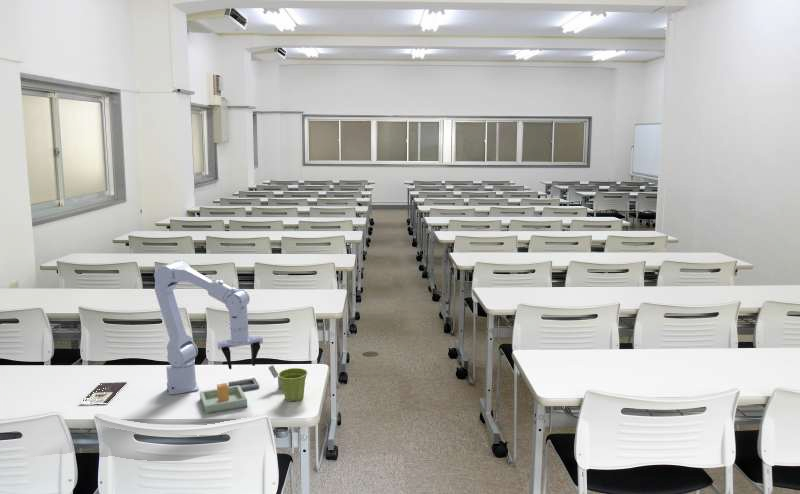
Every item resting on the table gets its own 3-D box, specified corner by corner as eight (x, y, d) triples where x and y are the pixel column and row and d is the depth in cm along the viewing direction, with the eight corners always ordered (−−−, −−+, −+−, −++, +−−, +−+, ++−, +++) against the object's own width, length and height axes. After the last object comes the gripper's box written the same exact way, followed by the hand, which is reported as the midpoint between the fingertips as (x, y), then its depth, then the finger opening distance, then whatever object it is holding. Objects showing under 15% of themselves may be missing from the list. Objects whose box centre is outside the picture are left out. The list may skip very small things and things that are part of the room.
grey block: (291, 386, 237) (289, 364, 236) (290, 388, 236) (289, 365, 234) (270, 386, 237) (269, 364, 235) (269, 388, 235) (268, 366, 234)
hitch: (231, 392, 232) (231, 389, 232) (228, 385, 239) (228, 382, 238) (259, 388, 236) (258, 384, 236) (255, 381, 242) (254, 377, 242)
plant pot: (295, 406, 221) (294, 380, 219) (273, 400, 226) (272, 375, 224) (314, 395, 229) (313, 371, 227) (292, 390, 233) (291, 366, 232)
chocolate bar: (126, 382, 242) (106, 402, 224) (126, 384, 242) (107, 405, 224) (100, 383, 242) (78, 403, 224) (100, 385, 242) (79, 406, 224)
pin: (219, 403, 222) (218, 387, 221) (218, 400, 225) (216, 384, 224) (228, 402, 223) (227, 386, 222) (227, 398, 226) (226, 382, 225)
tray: (205, 414, 216) (205, 406, 215) (200, 399, 227) (199, 391, 227) (247, 406, 221) (246, 399, 220) (239, 392, 232) (239, 385, 232)
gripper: (218, 333, 220) (221, 373, 223) (263, 327, 225) (265, 367, 228) (215, 327, 226) (218, 366, 229) (259, 322, 232) (261, 360, 234)
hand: (241, 366), depth 229 cm, fingers open, 7 cm apart
